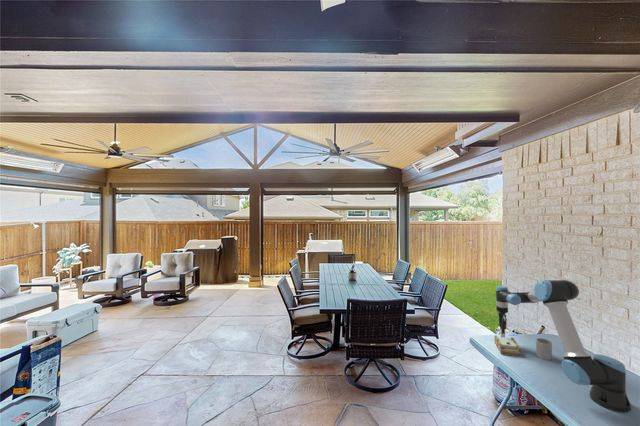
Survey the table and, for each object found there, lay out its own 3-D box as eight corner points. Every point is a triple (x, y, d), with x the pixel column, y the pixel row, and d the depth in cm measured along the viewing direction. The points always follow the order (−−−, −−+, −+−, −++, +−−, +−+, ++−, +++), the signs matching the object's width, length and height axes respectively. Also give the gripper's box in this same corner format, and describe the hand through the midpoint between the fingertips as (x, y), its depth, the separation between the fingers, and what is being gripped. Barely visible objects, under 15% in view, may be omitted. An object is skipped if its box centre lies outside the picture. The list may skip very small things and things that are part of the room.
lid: (516, 349, 196) (516, 344, 196) (501, 347, 199) (501, 343, 199) (511, 341, 207) (511, 337, 207) (497, 339, 210) (497, 335, 210)
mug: (554, 360, 186) (554, 344, 186) (539, 358, 189) (538, 342, 189) (546, 352, 198) (546, 336, 198) (532, 350, 201) (532, 335, 200)
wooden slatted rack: (520, 356, 193) (520, 348, 193) (500, 354, 197) (500, 345, 197) (513, 345, 208) (513, 337, 208) (494, 343, 212) (494, 335, 212)
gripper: (510, 309, 205) (511, 341, 205) (505, 304, 217) (505, 333, 217) (498, 308, 207) (499, 340, 208) (494, 303, 220) (494, 332, 220)
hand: (502, 336), depth 212 cm, fingers closed
